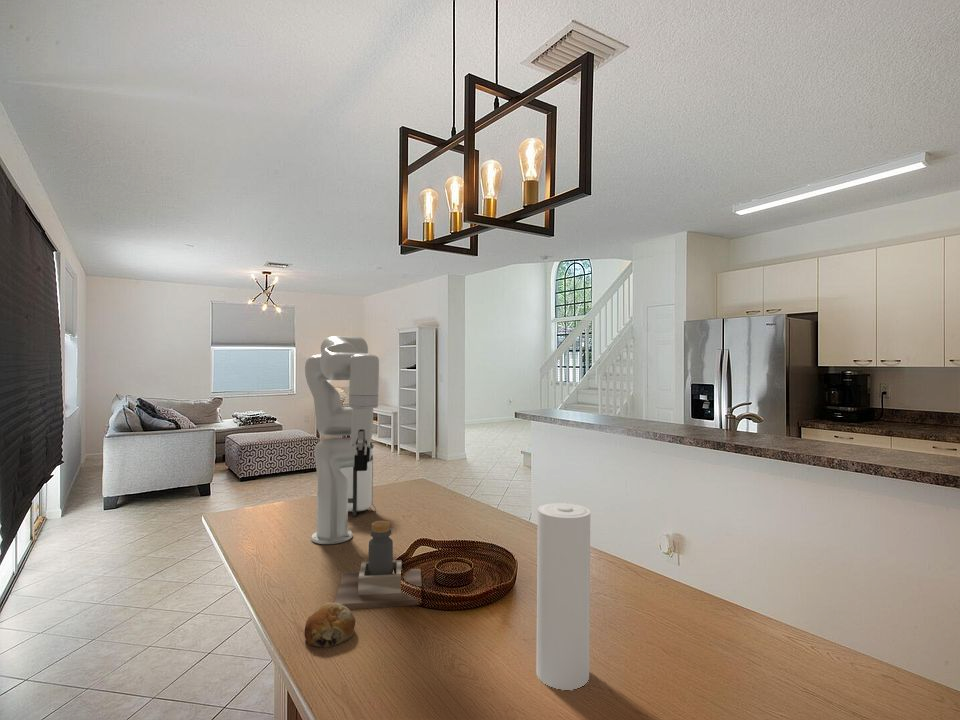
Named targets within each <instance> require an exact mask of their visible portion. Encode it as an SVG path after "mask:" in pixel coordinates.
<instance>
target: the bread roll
mask: <svg viewBox="0 0 960 720" xmlns="http://www.w3.org/2000/svg"><path fill="white" fill-rule="evenodd" d="M304 626H305V627H304V639H305V641H306V643H308V644H309V646H312V647H318V648H329V646H330V647H334V646H337V644H338V645H340V644H342V643H344V642H345V641H347V639H348V640H349V639H350V638H351V637H352V636H353V634H354V631H355V626H356V618H355V616H354V614H353V612H352V611H351V609H348V608H347V607H346V606H344V605H342V604H340V603H334V602H323V603H322V604H321V605H320V606H318V608H316V609H314V611H313V612H312V613H311V614H309V615H308V618H307V619H306V621H305V624H304Z"/></svg>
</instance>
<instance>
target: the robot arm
mask: <svg viewBox="0 0 960 720" xmlns="http://www.w3.org/2000/svg"><path fill="white" fill-rule="evenodd" d="M320 353H321V354H315V355H312V356H310V357H308V358H307V360H306V361H305V363H304V365H305V366H304V373H305V379H306V380H305V381H306V383H307V385H308V388H309V391H310V393H311V394H312V398H313V405H314V406H313V407H314V414H315V416H314V417H315V425H316V429H317V432H318V434H319V435H320V436H323V437H333V438H325V439H322V440H320V441H319V442H317V443H316V445H315V446H314V451H313V452H314V461H315V462H314V463H315V468H316V531H315V532H314V533H312V534H311V537H310V539H311V541H312V543H313V542H314V544H319V545H320V544H321V545H336V544H341V543H344V542H347V541H349V540H351V539H352V538H353V532H352V530H350V529H348V526H349V525H348V523H349V522H348V520H349V516H348V514H349V511H348V481H347V479H346V477H345V476H344V475H343V474H342V473H341V471H340V469H341V468H346V467H354V470H355V471H366V470H367V464H368V463H369V461H370V458H371V448H370V443H371V442H372V436H373V427H374V409H377V408H379V389H380V388H379V386H380V385H379V384H380V383H379V382H380V381H379V380H380V379H379V378H380V359H379V357H378V356H377V355H375V354H371V353H369V346H368V343H367V341H366V339H364V338H362V337H361V336H349V335H347V336H345V335H344V336H343V335H333V336H328V337H326V338H325V339H324V340H323V341H322V342H321V345H320ZM328 381H349V383H348V384H349V389H348V390H349V391H348V394H349V395H348V406H342V402H341V395H340V393H339V391H338V390H337V388H335V386H334V385H333V384H331V383H330V382H328ZM346 436H348V437H346ZM349 436H350V437H349Z"/></svg>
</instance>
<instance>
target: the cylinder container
mask: <svg viewBox="0 0 960 720" xmlns="http://www.w3.org/2000/svg"><path fill="white" fill-rule="evenodd" d="M536 540H537V541H536V542H537V545H536V546H537V550H536V551H537V552H536V553H537V554H536V555H537V556H536V557H537V558H536V562H537V563H536V565H537V566H536V570H537V571H536V578H537V579H536V660H535V661H536V667H535V668H536V669H535V670H536V672H535V673H536V676H538V677H537V678H538V680H539V679H540V680H541V681H542V682H543V684H544V685H545V684H546V685H545V686H547V685H548V686H547V687H549V686H550V687H549V688H551V687H553V688H552V689H554V688H556V689H555V690H558V689H561V690H560V691H564V690H570V691H574V690H573V689H577V688H580V687H582V686H584V685H585V684H586V683H587V682H588V683H589V681H590V631H591V630H590V627H591V625H590V615H591V612H590V608H591V607H590V606H591V603H590V602H591V601H590V599H591V596H590V595H591V593H590V592H591V510H590V509H589V508H588V507H587V506H586V507H585V506H582V505H579V504H574V503H567V502H566V503H565V502H564V503H563V502H551V503H545V504H542V505H540V506H539V507H537V537H536ZM540 680H539V681H540ZM588 680H589V681H588ZM541 681H540V682H541ZM542 682H541V683H542ZM588 683H587V684H588ZM587 684H586V685H587ZM586 685H585V686H586ZM585 686H584V687H585ZM582 688H583V687H582ZM580 689H581V688H580ZM577 690H578V689H577Z"/></svg>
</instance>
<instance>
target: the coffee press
mask: <svg viewBox="0 0 960 720" xmlns="http://www.w3.org/2000/svg"><path fill="white" fill-rule="evenodd" d="M374 447H375V446H374V443H373V442H372V441H371V443H370V448H371V458H370V461H369V463H368V464H367V470H366V471H355V470H354V467H346V468H341V469H340V471H341V473H342V474H343V475H344V476H345V477H346V479H347V481H348V512H352V518H356V517H357V515H358V514H357V512H362V511H367V510H368V509H369V510H370V511H372V512H374V511H373V510H375V511H376V506H375V505H374V502H373V497H374V495H373V489H374V488H373V487H374V485H373V484H374V479H373V477H374V466H373V461H374V454H373V451H374V450H373V449H374ZM372 506H373V508H374V509H372Z"/></svg>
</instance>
